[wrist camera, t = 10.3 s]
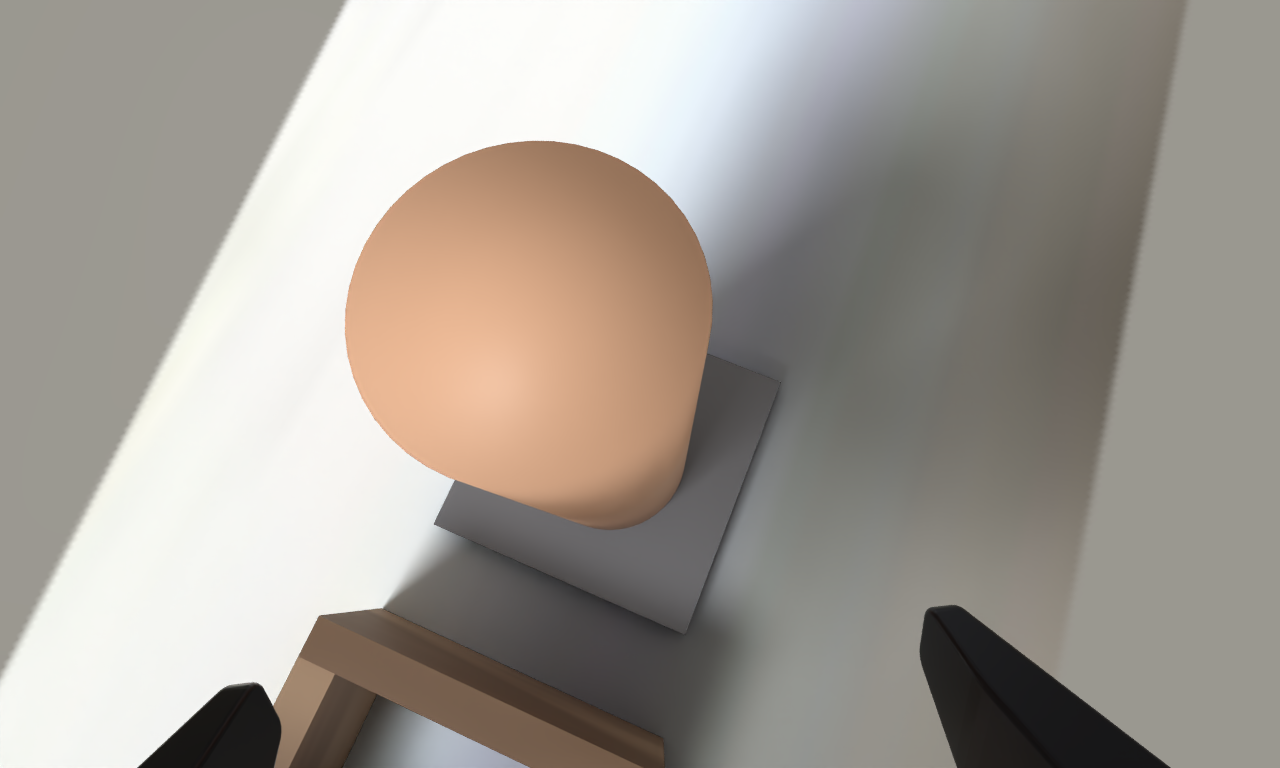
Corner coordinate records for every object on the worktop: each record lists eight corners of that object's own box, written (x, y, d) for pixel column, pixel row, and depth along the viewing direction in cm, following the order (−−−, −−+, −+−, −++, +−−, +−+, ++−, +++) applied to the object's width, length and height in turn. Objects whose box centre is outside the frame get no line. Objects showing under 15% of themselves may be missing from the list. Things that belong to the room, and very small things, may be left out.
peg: (696, 517, 21) (743, 459, 8) (545, 540, 21) (353, 518, 8) (673, 371, 22) (681, 116, 9) (528, 393, 22) (337, 168, 9)
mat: (684, 633, 20) (685, 635, 20) (439, 525, 21) (433, 524, 21) (777, 387, 22) (780, 382, 22) (549, 298, 23) (546, 291, 23)
